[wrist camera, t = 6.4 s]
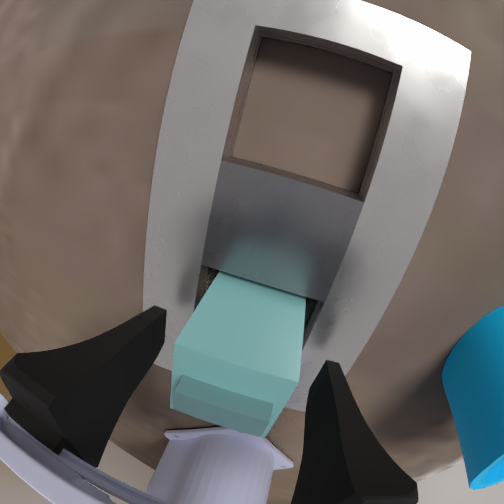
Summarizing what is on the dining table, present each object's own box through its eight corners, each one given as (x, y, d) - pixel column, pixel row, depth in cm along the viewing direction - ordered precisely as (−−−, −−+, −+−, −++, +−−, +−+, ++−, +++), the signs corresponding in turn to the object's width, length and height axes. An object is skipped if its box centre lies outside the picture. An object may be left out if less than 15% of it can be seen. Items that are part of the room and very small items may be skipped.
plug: (282, 345, 15) (261, 453, 9) (212, 323, 16) (162, 422, 9) (306, 286, 14) (296, 402, 7) (225, 261, 14) (164, 359, 8)
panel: (318, 396, 16) (317, 414, 15) (153, 344, 17) (143, 359, 16) (456, 58, 8) (471, 51, 6) (213, -10, 9) (202, -23, 7)
